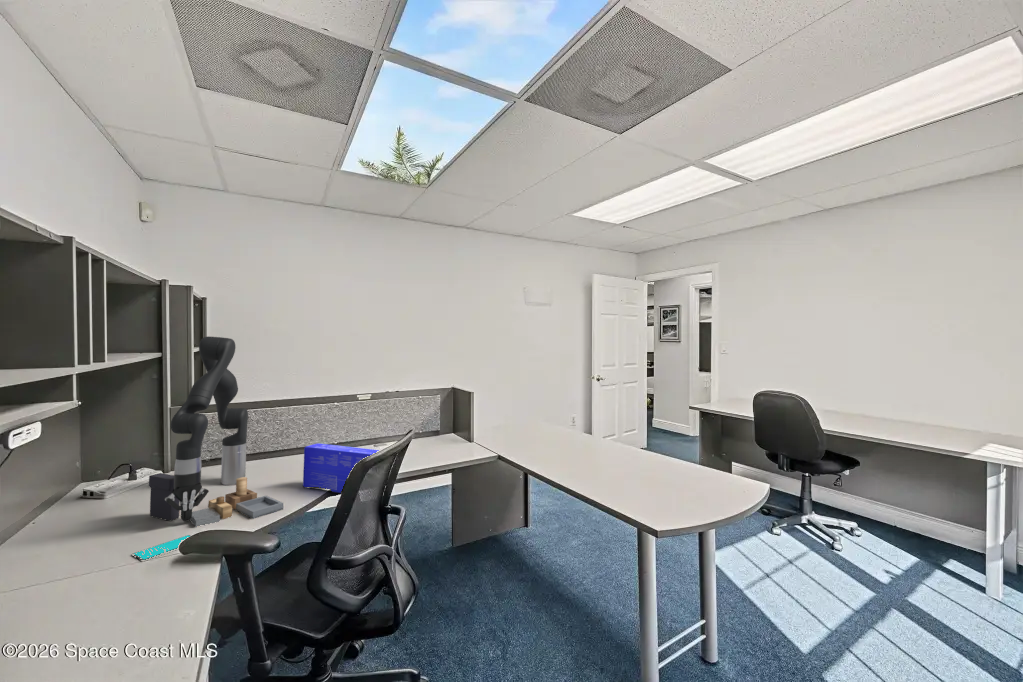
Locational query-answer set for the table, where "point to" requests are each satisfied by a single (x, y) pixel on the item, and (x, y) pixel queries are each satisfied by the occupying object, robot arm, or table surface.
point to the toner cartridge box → (330, 465)
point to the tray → (259, 506)
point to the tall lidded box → (162, 496)
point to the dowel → (241, 486)
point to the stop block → (221, 507)
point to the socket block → (239, 498)
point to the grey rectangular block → (205, 516)
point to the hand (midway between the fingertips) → (186, 520)
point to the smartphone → (170, 545)
